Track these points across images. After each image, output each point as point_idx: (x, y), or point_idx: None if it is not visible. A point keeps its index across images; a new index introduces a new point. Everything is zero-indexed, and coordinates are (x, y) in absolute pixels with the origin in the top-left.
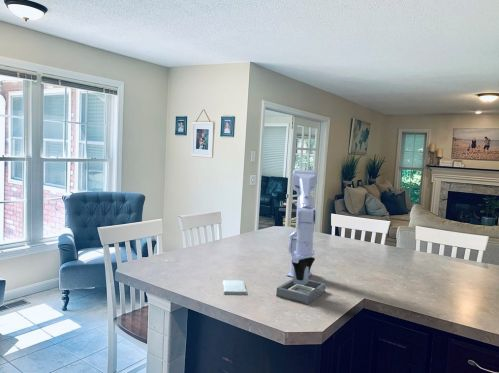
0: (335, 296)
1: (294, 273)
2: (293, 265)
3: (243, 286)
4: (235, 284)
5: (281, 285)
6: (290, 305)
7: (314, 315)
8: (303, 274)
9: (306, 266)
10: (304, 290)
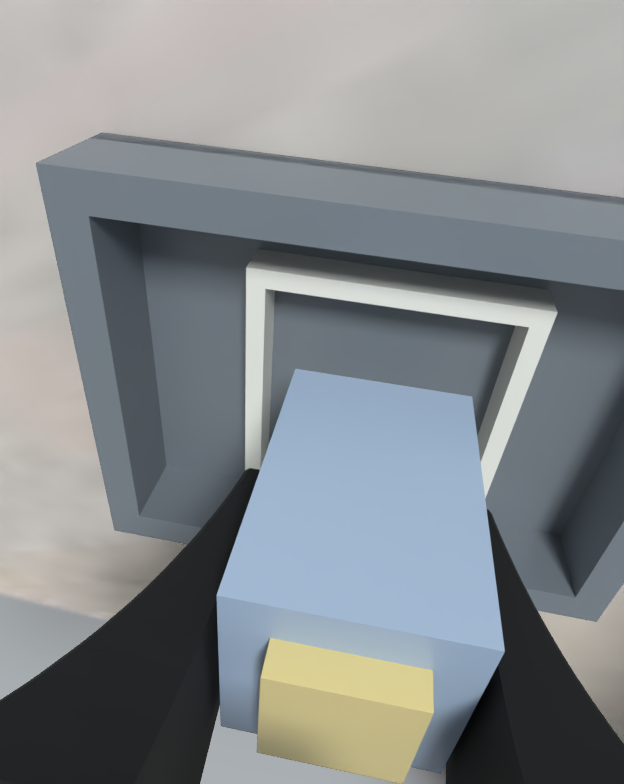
0: None
1: (256, 491)
2: (52, 668)
3: None
4: None
5: (186, 191)
6: (15, 359)
7: (17, 526)
8: None
9: (421, 750)
10: None
